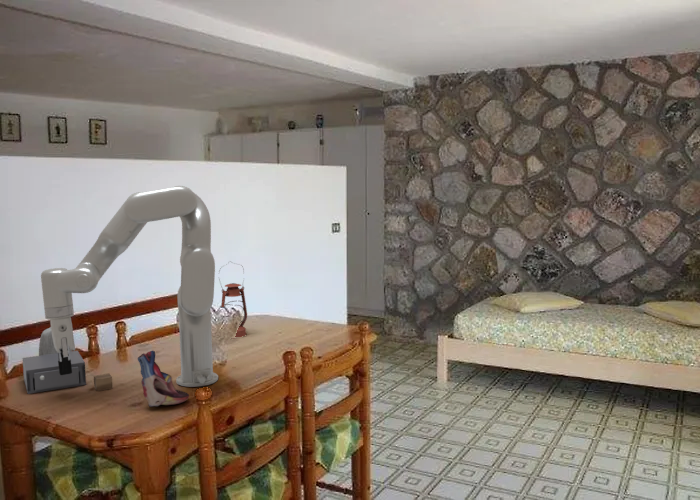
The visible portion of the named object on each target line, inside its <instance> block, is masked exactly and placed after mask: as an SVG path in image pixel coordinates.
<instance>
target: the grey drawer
mask: <svg viewBox="0 0 700 500" xmlns="http://www.w3.org/2000/svg"><path fill="white" fill-rule="evenodd" d="M33 384H34V387H35V390H41V389H47V388H54V387H60V386H66V385H73V384H79V368H78V367H72V373H71V374H66V375H60V373H59V369H58V370H52V371H45V372H38V373H34V378H33Z"/></svg>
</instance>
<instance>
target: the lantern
mask: <svg viewBox="0 0 700 500" xmlns="http://www.w3.org/2000/svg"><path fill="white" fill-rule="evenodd" d="M229 263H232V264H234V265H236V263H235V262H232V261H231V260H229V261H228V263H226V264H224V265H222V266H220V267H221V268H219V271H218V272H219V273H220V271H221V269H222V268H223V267H225V266H227V265H228V264H229ZM237 265H240V266H242V267H241V268H242V270H243V273H245V269H244V267H243V265H242V264H240V263H237ZM220 279H221V278H218V280H219V284H220V286H221V287H220V288H222V289H221V294H222V296H221V306H220V308H221V307H226V305H227V306H232V304H231V303H233V302H234V303H235V302H236V300H231V301H228V302H226V297H228V298H230V297H231V298H235V297H241V300H239V302H241V303H242V305H241V304H236V306H237V307H241V309H242V311H241V313H243V314H241V316H240V318H242V320H240V321H241V322H240V323H239V325H240V326H239V328H238V330H237V333H236V336H235V337H242V336H245V335H246V334H247V331H246V330H247V328H246V327H245V326H244V325H245V323H246V322H247V319H248V310H247V303H246V297H245V296H246V295H245V287H244V284H240V283H235V282H233V283H232V282H231V283H228V284H225V285H224V287H226V290H225V289H223V286H222V283H221V280H220ZM244 281H245V279H243V281H242V283H244ZM240 287H241V288H240ZM242 316H243V317H242ZM246 336H247V335H246ZM246 336H245V337H246ZM242 338H243V337H242Z"/></svg>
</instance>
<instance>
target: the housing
mask: <svg viewBox="0 0 700 500" xmlns="http://www.w3.org/2000/svg"><path fill="white" fill-rule="evenodd" d="M70 360H71V367H78V368H79V384H73V385H66V386H60V387H54V388H47V389H41V390H35V387H34V384H33V378H34V373H38V372H45V371H52V370H58V369H59V365H58V361H59V359H58V353H56V354H48V355H41V356H39V355H35V356H33V355H32V356H26V357H22V370H23V382H24V385H25V389H26V392H27V394H28V395H29V394H31V395H32V394H36V393H43V392H49V391H56V390H62V389H66V388H74V387H80V386H85V385H87V379H86V378H87V375H86V373H87V372H86V363H85V360H84V359H83V357H82V355H81V354H80V352H79V350H74V351H73V350H72V351H71V352H70Z"/></svg>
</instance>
